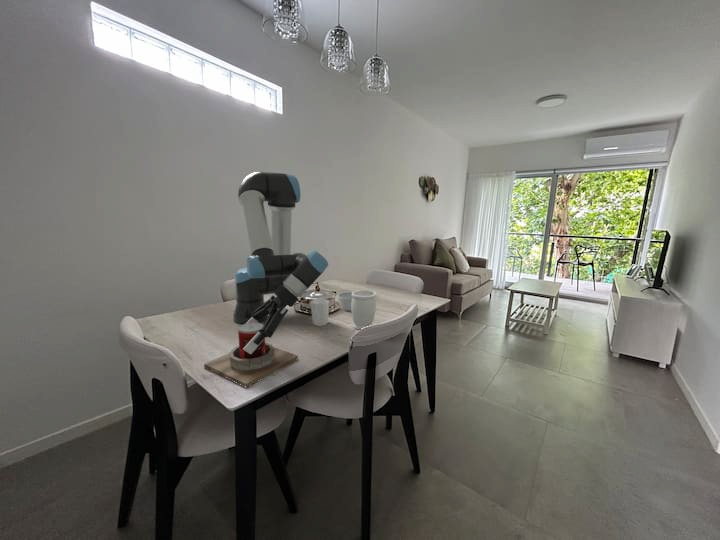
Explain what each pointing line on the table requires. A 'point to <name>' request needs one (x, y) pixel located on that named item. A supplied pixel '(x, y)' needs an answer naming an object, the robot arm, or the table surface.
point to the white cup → (320, 311)
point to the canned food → (245, 336)
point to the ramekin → (345, 301)
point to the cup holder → (250, 365)
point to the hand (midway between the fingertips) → (243, 342)
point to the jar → (363, 308)
